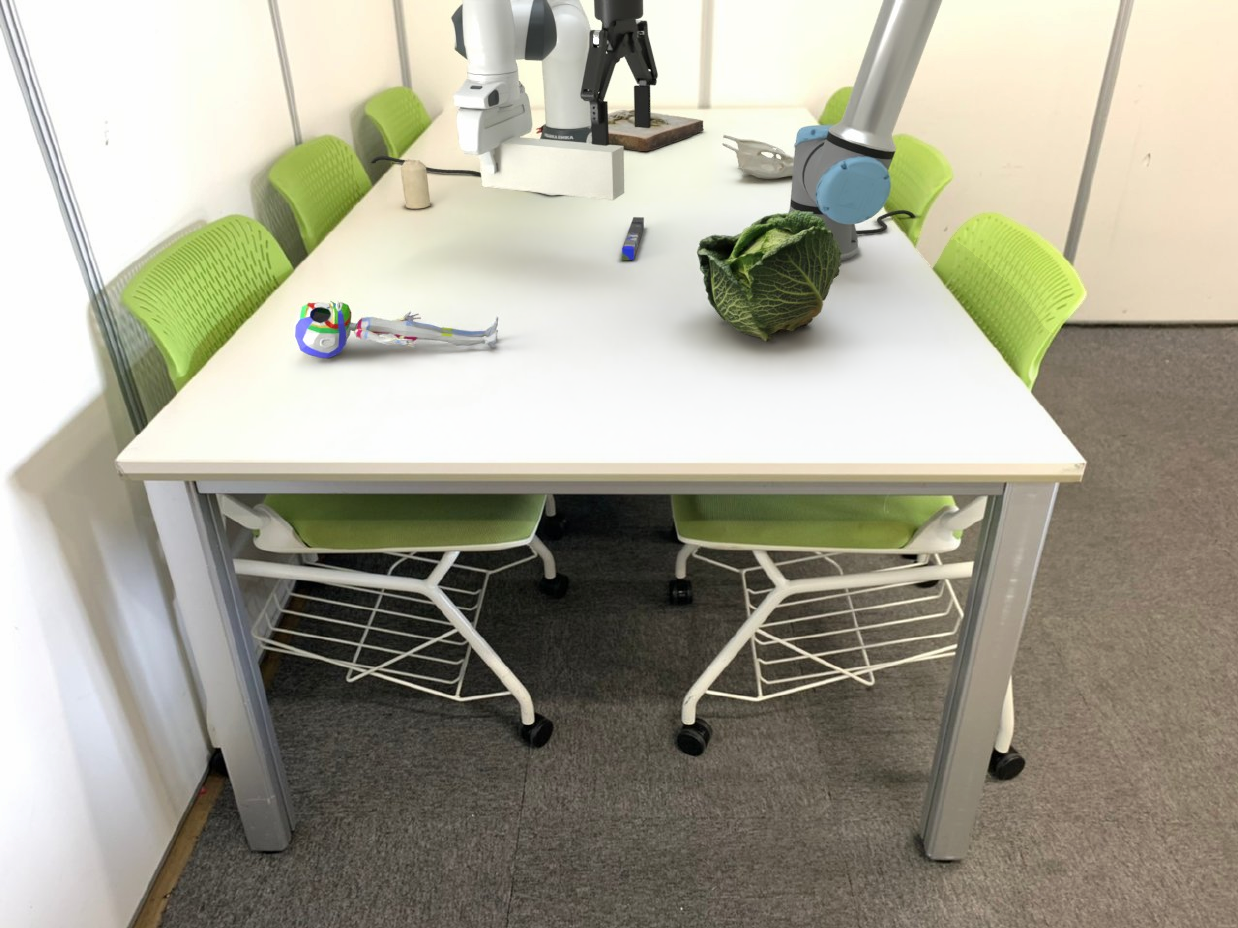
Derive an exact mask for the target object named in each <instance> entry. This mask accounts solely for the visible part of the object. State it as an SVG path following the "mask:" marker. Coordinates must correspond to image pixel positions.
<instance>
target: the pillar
mask: <svg viewBox="0 0 1238 928" xmlns="http://www.w3.org/2000/svg"><path fill="white" fill-rule="evenodd" d="M644 229H645V217H644V216H643V217H642V216H633V217H632V219H631V223H630V225H629V228H628V232H627V233H626V237H625V238H624V242H623V245H622V247H621V260H622V261H634V260H635V257H636V254H637V251H638V247H639V244H640V241H641V238H642V235H643V233H644Z"/></svg>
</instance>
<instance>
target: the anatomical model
mask: <svg viewBox="0 0 1238 928" xmlns="http://www.w3.org/2000/svg"><path fill="white" fill-rule="evenodd" d="M722 138H723V139H727V140H730V141H733V142H735V143H736V144H737V148H735V147H733V146H731V145H729V144H728V143H725V142H722V143H721V144H722V145H721V146H723V147H725V148H726V149H729V150H731V151H733V152H734V153H735V154H736V159H737V163H738V167H737V169H738V170H741V171H742V173H744V174H745V175H750V176H751V175H752V176H754V177H755V178H757V179H766V180H769V179H779V178H784V177H785V178H786V177H793V166H794V156H793V155H789V154H787V153H786V152H785V151H783V149H781V148H779V147H777V146H775V145H772V144H770V143H766V142H764V141H759V140H754V139H744V138H738V137H734V136H730V135H726V134H723V136H722ZM762 153H770V154H772V155H773V156H772V157H768V156H766V155H764V154H762ZM777 155H778V156H779V157H780V158H778V157H777Z"/></svg>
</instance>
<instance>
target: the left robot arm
mask: <svg viewBox="0 0 1238 928" xmlns="http://www.w3.org/2000/svg"><path fill="white" fill-rule="evenodd" d="M450 19H451V22H452V25H453V33H454V51H456V52H457V53H458V54H459V55H460V56H462V57H463V58H464V59H465V60H467V66H466V74H467V78H466V79H465V81H464V82H463V83H462V85H461V86H460V87H459V89H457V91H456V92H454V94H453V103H454V106H455V108H458V110H457V113H456V127H457V134H458V135H457V136H458V142H459V143H458V144H459V148H460V149H461V151H462V153H463V154H465V155H469V156H479V155H481V157H482V159H483V161H484V163H485V166H486V172H487V174H495V173H497V172H498V163H495V160H494V157H493V155H494V149H495V148H497V147H499V146H500V143H501V142H503V141H506V140H508V139H510V138H512V137H524V136H525V135H528V134H530V133H531V132H532V129H533V117H532V108H531V102H530V98H529V95H528V94H527V92H526V87H525V86H524V84H523V83H522V82H521V81H520V76H519V66H518V63H517V60H520V61H521V60H525V61H534V62H535V61H536V62H537V61H539V62H540V61H541V71H542V84H543V100H544V102H543V103H544V118H545V119H544V120H545V121H544V122H545V123H544V124H543V125H541V126H540V127H537V128H535V130H536V132H535V133H536V134H540V138H539V139H546V140H558V141H570V142H582V143H592V131H591V118H590V117H591V116H590V103H589V101H584V100H583V99H581V97H580V93H581V88H582V83H583V77H584V72H585V67H586V61H587V56H588V51H589V33H590V31H591V30H592V29H591V25H590V21H589V18H588V16H587V14H586V12H585V9H584V7H583V5H582V3H581V1H580V0H462V4H460V5H459V6H458V8H457V9H456V10H455V11H454V12H453V14H452V15H451V17H450ZM588 91H589V89H588ZM382 160H383V161H390V162H394V163H398V164H403V163H404V162H405V161H406V160H407V159H401V158H396V157H392V156H386V155H380V156H379V155H378V156H376V157H375V158H373V159H372V160H371V162H370V164H376V163H377V162H379V161H382ZM426 172H430V173H436V174H451V175H452V174H454V175H455V174H457V175H458V174H459V175H473V176H478V177H481V171H476V170H470V169H441V168H433V167H428V166H426ZM537 193H539V192H537ZM539 194H540V193H539ZM541 194H543V195H545V196H559V195H558V194H549V193H541Z"/></svg>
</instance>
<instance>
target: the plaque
mask: <svg viewBox="0 0 1238 928" xmlns="http://www.w3.org/2000/svg"><path fill="white" fill-rule="evenodd" d="M608 130H609V145H618V146H624V150H632V151H640V152H648V151H654V150H656V149H659V148H662V147H663V146H664V147H665V146H667V145H670V144H672V143H676V142H680V141H682V140H684V139H687V138H691V137H692V136H694V135H696V134H698V133H700V132H704V130H705V129H704V120H702V119H698V118H693V117H685V116H679V115H669V114H663V113H659V112H651V127H650V128H640V127H635V117H634V109H630V110H629V109H620V110H616V111H613V112H610V113H608Z"/></svg>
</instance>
